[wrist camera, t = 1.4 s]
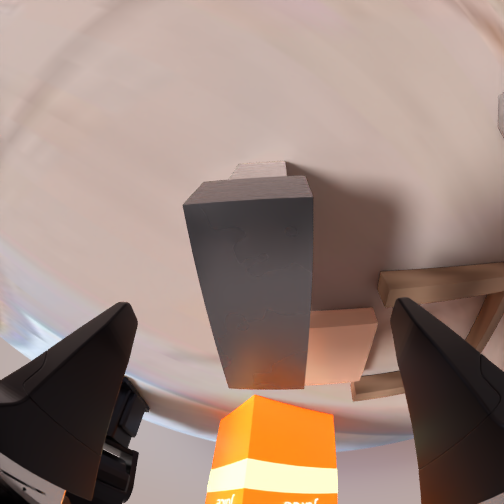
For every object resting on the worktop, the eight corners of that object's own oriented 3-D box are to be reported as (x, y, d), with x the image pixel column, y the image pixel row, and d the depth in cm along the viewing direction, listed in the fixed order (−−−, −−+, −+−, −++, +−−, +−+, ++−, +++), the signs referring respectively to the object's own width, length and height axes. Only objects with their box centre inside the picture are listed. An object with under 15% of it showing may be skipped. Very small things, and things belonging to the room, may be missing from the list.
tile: (276, 366, 19) (275, 386, 17) (272, 307, 16) (271, 329, 14) (355, 361, 18) (359, 380, 17) (370, 302, 15) (378, 322, 14)
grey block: (245, 296, 15) (228, 388, 10) (227, 158, 11) (182, 204, 6) (298, 295, 15) (303, 388, 10) (296, 153, 11) (313, 197, 6)
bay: (350, 385, 19) (352, 401, 18) (380, 271, 13) (389, 289, 12) (458, 364, 18) (464, 377, 16) (509, 261, 12) (521, 273, 11)
